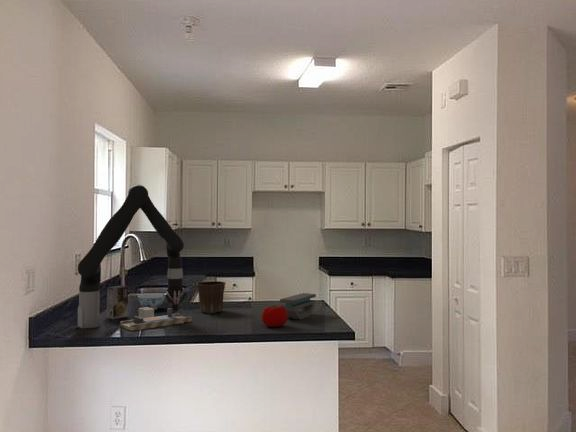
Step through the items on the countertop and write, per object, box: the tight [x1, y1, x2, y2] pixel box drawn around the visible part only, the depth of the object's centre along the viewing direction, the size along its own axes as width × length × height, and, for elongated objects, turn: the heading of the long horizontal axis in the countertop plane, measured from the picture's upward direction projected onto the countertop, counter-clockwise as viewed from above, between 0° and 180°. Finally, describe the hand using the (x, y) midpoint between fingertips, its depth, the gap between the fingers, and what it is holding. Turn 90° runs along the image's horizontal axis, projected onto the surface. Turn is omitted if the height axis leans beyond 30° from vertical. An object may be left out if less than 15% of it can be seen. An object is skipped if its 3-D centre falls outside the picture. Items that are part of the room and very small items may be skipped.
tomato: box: [261, 304, 288, 328], centre depth 252 cm, size 11×13×10 cm
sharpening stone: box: [279, 292, 317, 320], centre depth 276 cm, size 25×8×11 cm, turn 150°
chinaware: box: [137, 293, 165, 311], centre depth 300 cm, size 15×15×8 cm
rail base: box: [119, 313, 193, 332], centre depth 258 cm, size 32×13×4 cm, turn 131°
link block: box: [138, 307, 155, 318], centre depth 268 cm, size 5×7×6 cm
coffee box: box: [106, 285, 129, 320], centre depth 276 cm, size 9×6×16 cm
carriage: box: [143, 307, 177, 323], centre depth 258 cm, size 16×9×5 cm, turn 131°
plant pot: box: [196, 280, 227, 314], centre depth 292 cm, size 16×16×16 cm
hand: (175, 311), depth 265 cm, fingers closed
